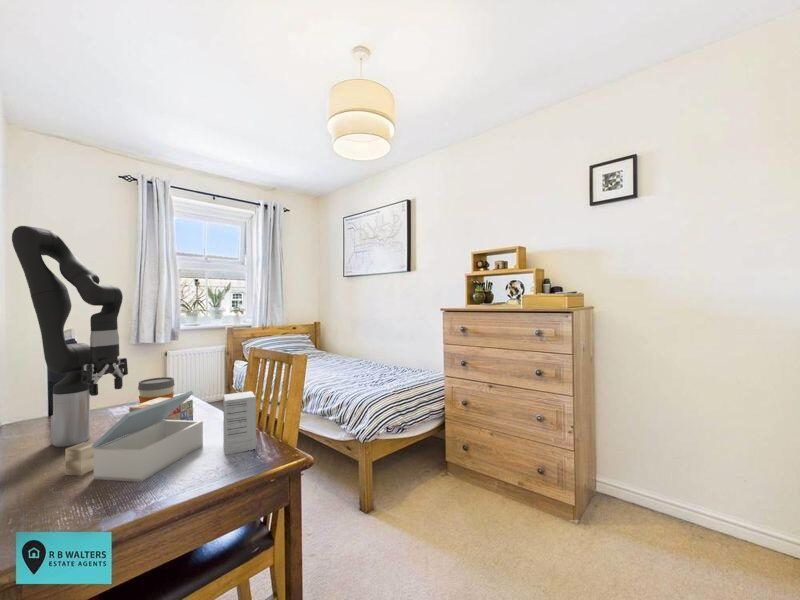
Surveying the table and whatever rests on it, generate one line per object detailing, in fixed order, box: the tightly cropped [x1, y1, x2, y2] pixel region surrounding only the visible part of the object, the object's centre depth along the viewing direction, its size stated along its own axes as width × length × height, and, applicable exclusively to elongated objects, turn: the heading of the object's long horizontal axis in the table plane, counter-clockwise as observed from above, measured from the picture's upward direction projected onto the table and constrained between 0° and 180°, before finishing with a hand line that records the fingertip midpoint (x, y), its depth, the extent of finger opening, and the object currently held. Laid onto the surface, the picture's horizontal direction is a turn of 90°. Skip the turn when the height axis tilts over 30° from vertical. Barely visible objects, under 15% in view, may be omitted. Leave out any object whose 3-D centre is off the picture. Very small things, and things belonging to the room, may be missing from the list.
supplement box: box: [222, 391, 257, 456], centre depth 116 cm, size 10×9×17 cm
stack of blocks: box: [128, 397, 194, 434], centre depth 130 cm, size 21×6×12 cm, turn 169°
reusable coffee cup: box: [137, 376, 175, 404], centre depth 148 cm, size 13×13×15 cm
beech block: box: [64, 441, 95, 476], centre depth 100 cm, size 5×5×7 cm
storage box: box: [93, 420, 204, 483], centre depth 106 cm, size 14×24×8 cm, turn 173°
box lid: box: [92, 390, 194, 449], centre depth 107 cm, size 14×24×1 cm
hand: (106, 392), depth 120 cm, fingers open, 8 cm apart
